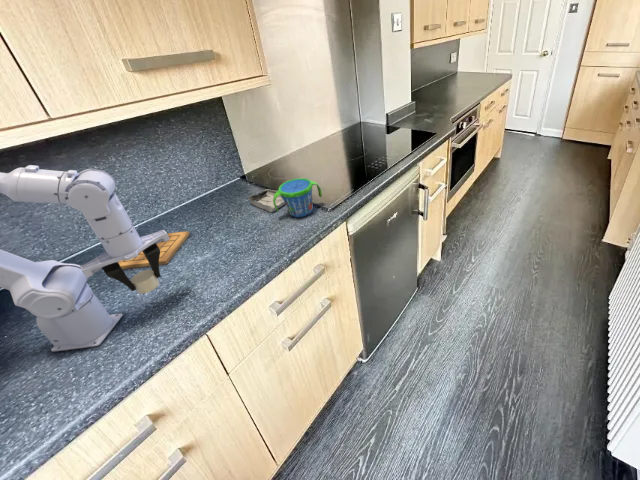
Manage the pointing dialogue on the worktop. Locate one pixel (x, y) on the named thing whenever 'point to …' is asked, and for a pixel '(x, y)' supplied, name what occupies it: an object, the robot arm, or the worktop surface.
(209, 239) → the worktop surface
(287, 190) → the snack cup
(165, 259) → the board
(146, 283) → the cream cylinder puck
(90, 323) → the robot arm
